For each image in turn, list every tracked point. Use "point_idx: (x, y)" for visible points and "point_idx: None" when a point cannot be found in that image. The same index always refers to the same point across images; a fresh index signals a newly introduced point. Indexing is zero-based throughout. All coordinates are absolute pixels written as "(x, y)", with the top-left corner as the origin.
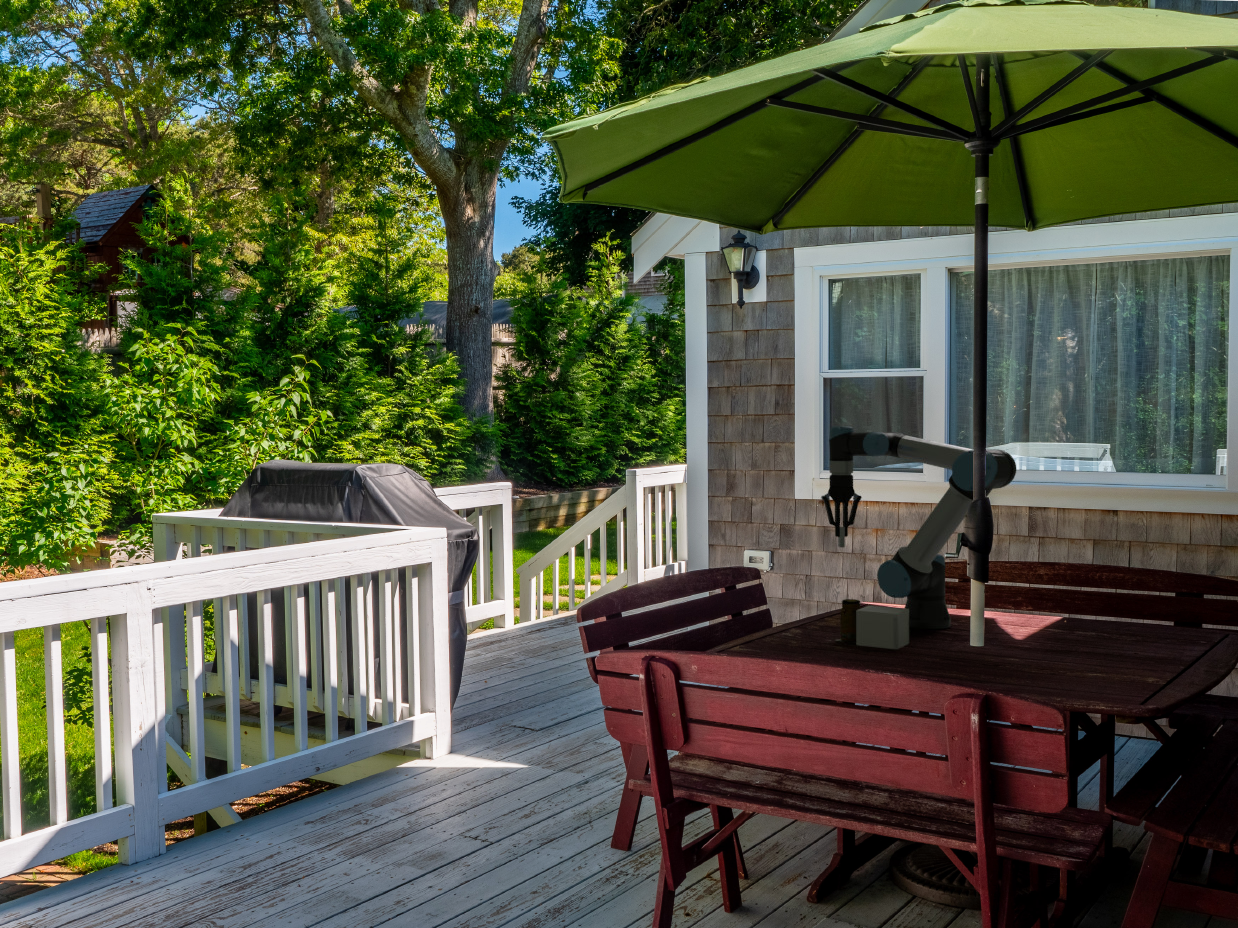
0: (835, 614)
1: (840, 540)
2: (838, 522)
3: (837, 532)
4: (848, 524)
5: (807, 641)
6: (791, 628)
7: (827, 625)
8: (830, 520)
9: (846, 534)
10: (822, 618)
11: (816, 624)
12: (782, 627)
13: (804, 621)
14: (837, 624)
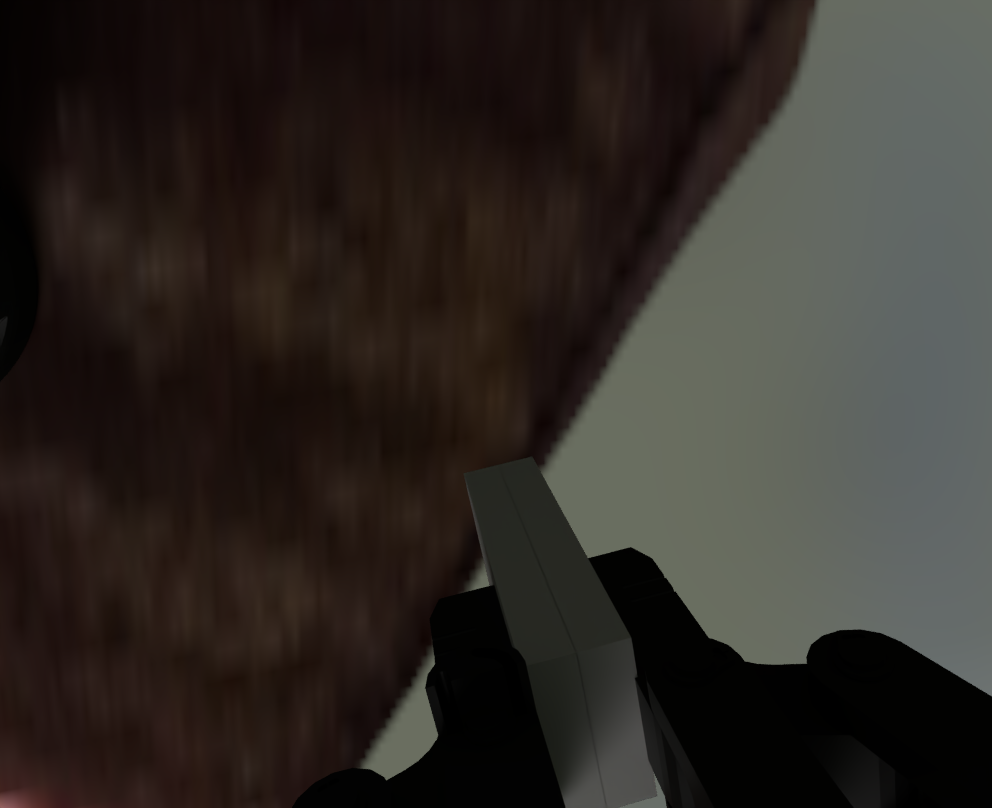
0: (462, 564)
1: (550, 502)
2: (719, 718)
3: (645, 591)
4: (430, 785)
5: None
6: (745, 23)
7: (520, 170)
8: (978, 694)
9: (456, 621)
10: (540, 418)
11: (585, 198)
12: (794, 55)
13: (649, 296)
14: (457, 217)
